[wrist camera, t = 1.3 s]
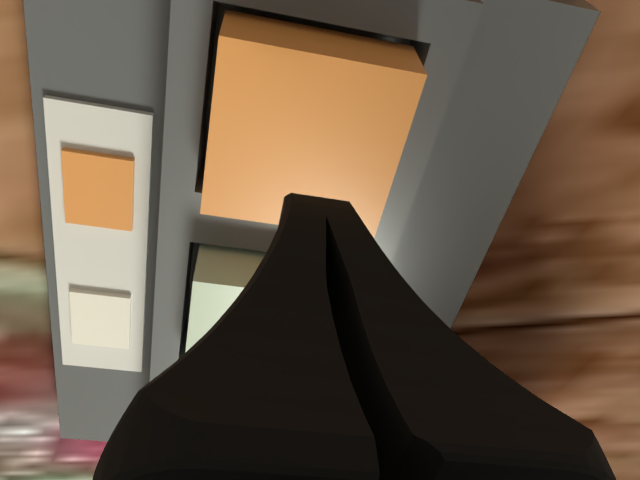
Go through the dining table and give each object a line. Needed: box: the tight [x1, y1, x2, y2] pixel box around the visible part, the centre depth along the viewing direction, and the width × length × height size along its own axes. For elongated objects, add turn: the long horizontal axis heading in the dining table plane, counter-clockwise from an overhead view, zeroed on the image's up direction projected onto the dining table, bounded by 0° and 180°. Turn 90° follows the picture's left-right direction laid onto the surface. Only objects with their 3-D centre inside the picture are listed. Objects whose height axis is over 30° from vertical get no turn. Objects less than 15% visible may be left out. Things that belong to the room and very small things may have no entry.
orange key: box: [200, 10, 427, 238], centre depth 16 cm, size 5×5×2 cm
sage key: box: [185, 243, 266, 353], centre depth 21 cm, size 5×5×2 cm
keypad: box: [23, 0, 600, 442], centre depth 22 cm, size 23×16×4 cm
